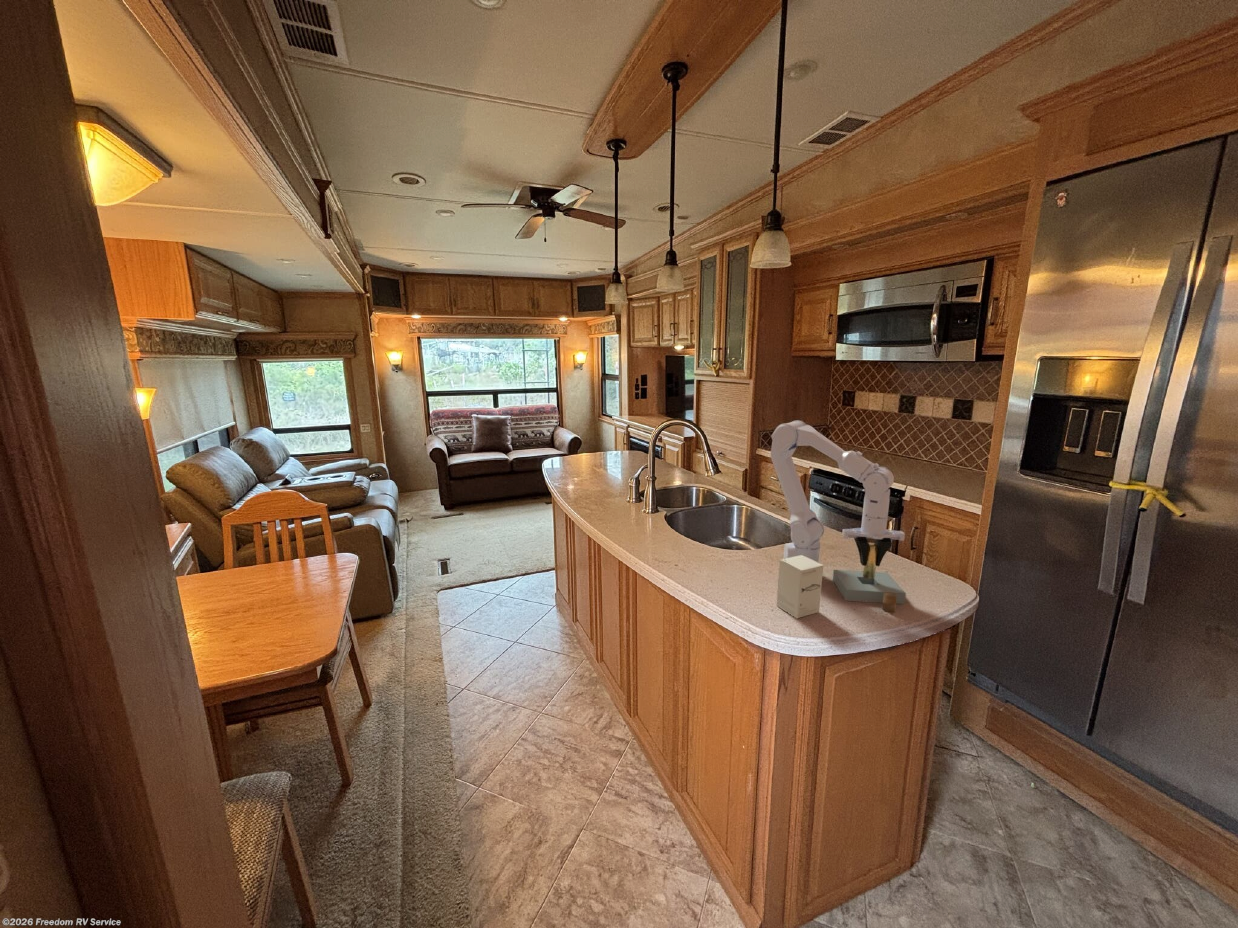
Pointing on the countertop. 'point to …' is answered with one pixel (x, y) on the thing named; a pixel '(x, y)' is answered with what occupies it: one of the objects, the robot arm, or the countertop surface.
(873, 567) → the long pin
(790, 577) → the supplement box
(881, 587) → the hole plate
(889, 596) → the short pin
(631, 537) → the countertop surface
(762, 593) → the countertop surface
